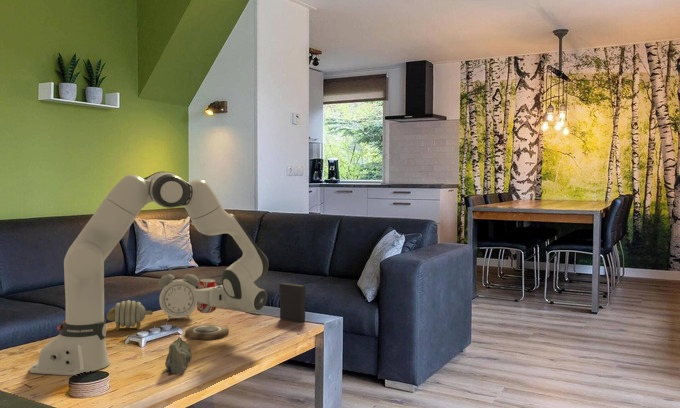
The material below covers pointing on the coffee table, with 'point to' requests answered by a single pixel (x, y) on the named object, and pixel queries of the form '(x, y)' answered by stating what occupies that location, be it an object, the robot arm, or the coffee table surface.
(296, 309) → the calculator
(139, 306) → the toy sheep
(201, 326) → the ring plate
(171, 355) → the mineral rock
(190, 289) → the alarm clock
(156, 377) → the coffee table surface
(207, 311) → the soda can
